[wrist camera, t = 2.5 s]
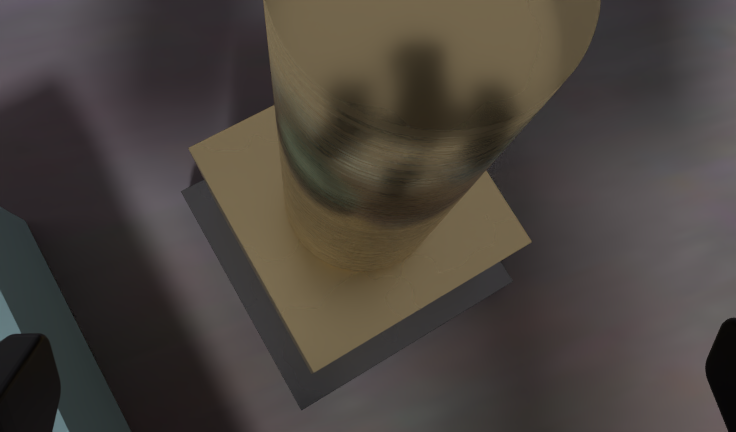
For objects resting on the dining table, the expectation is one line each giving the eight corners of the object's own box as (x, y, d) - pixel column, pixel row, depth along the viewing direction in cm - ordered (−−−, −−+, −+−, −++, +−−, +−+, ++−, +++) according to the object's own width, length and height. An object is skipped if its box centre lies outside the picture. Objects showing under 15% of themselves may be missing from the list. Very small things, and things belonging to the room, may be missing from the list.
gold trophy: (480, 272, 19) (815, 75, 7) (311, 373, 18) (329, 366, 6) (381, 113, 20) (511, -327, 8) (214, 200, 19) (41, -144, 6)
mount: (502, 285, 20) (547, 266, 17) (301, 408, 19) (301, 416, 15) (385, 97, 21) (402, 39, 18) (186, 200, 20) (160, 160, 16)
